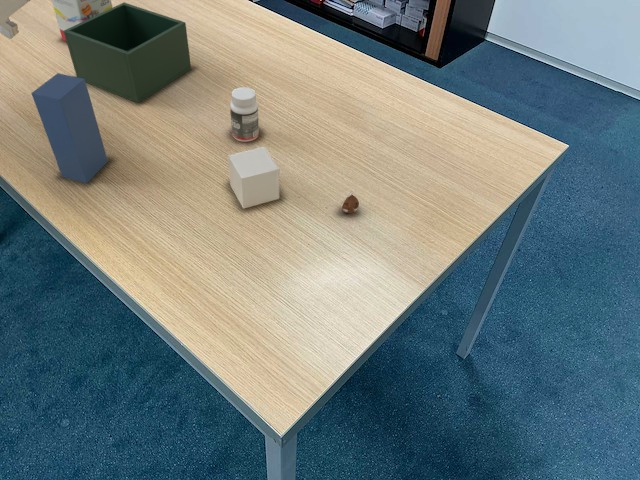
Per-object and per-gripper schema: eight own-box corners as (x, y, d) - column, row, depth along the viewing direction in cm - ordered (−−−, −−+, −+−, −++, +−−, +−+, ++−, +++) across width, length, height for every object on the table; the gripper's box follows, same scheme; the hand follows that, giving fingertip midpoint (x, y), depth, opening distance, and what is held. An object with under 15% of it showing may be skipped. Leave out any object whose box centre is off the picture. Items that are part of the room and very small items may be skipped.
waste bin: (77, 79, 107) (63, 30, 100) (133, 48, 116) (123, 2, 109) (138, 103, 102) (128, 54, 95) (191, 69, 112) (185, 22, 105)
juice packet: (62, 177, 86) (31, 93, 75) (84, 155, 90) (57, 72, 80) (87, 183, 86) (59, 99, 75) (108, 161, 90) (84, 78, 79)
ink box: (89, 51, 114) (74, -6, 106) (61, 40, 117) (44, -17, 109) (120, 37, 120) (108, -19, 111) (92, 26, 122) (78, -29, 114)
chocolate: (348, 220, 83) (351, 200, 80) (338, 212, 84) (340, 193, 81) (361, 211, 84) (364, 192, 82) (351, 204, 85) (353, 184, 83)
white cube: (243, 209, 83) (241, 178, 79) (230, 185, 87) (227, 155, 83) (279, 198, 85) (279, 168, 81) (265, 176, 89) (264, 146, 85)
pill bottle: (228, 130, 97) (224, 88, 91) (252, 124, 99) (251, 83, 93) (237, 145, 95) (235, 103, 89) (263, 138, 96) (261, 97, 90)
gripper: (52, -131, 67) (64, -38, 79) (-79, -49, 57) (-42, 44, 69) (96, -103, 68) (102, -14, 80) (-26, -16, 58) (2, 70, 70)
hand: (34, 13), depth 75 cm, fingers open, 8 cm apart
